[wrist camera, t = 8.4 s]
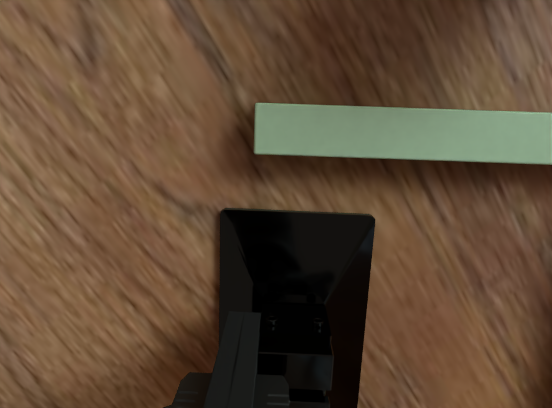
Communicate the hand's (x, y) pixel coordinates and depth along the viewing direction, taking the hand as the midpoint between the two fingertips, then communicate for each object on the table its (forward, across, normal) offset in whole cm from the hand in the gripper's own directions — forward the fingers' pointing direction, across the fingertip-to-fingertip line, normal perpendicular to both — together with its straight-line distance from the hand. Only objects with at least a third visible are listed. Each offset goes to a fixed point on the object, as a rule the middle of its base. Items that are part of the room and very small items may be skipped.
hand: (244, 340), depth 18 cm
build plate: (+2, +2, -1) cm, 3 cm away
